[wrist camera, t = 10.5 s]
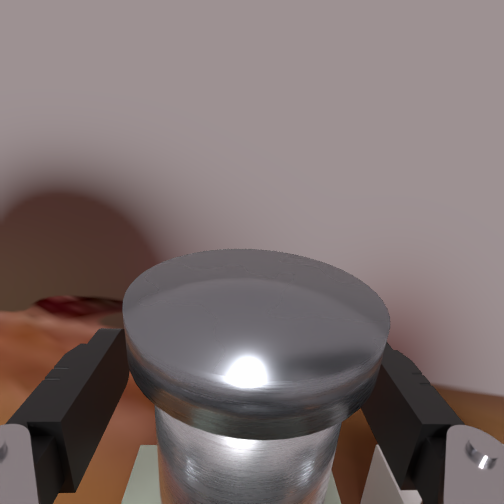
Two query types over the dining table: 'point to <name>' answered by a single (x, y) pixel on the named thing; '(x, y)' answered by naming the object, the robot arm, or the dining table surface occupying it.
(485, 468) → the robot arm
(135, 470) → the stand
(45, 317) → the dining table surface
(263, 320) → the cylinder
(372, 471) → the stand
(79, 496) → the dining table surface
